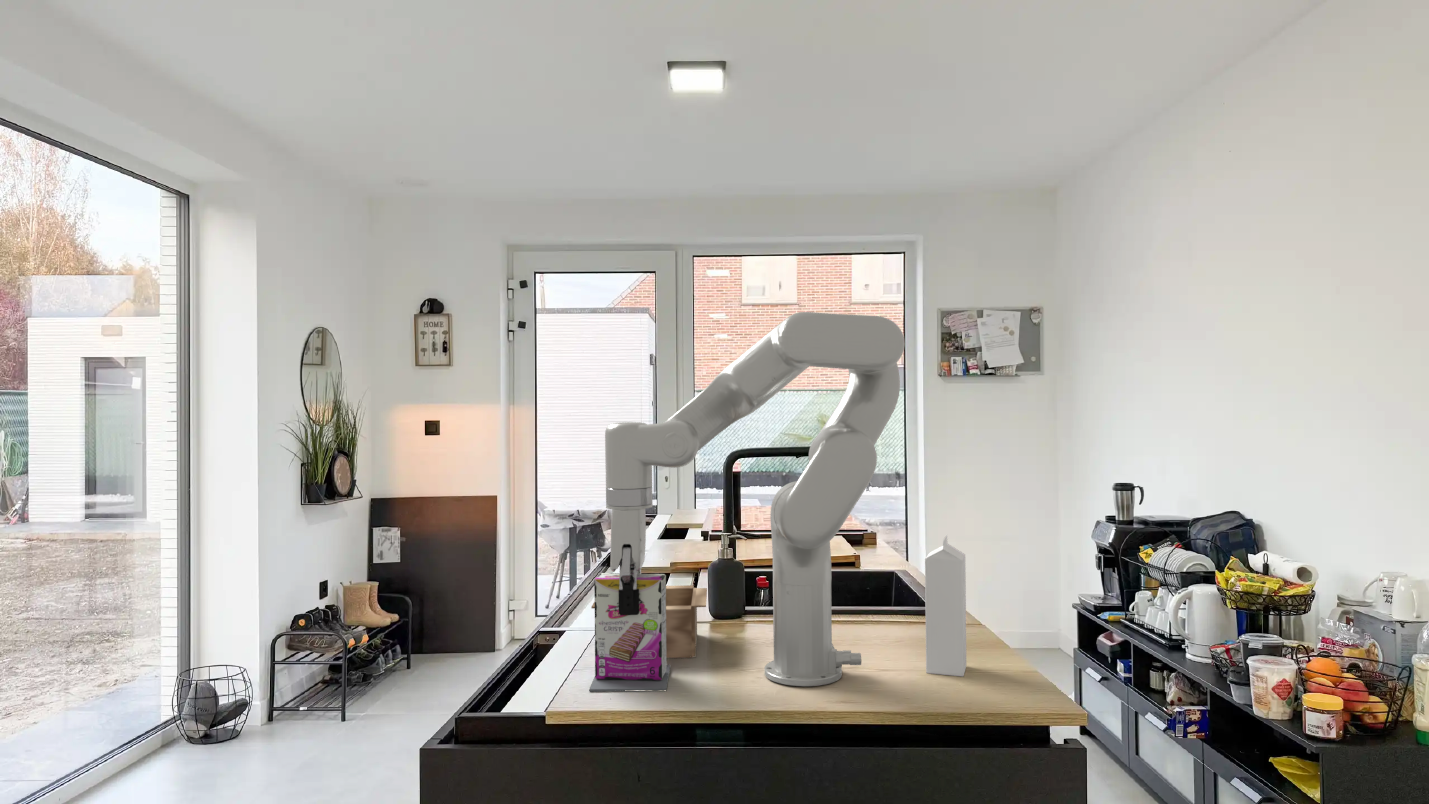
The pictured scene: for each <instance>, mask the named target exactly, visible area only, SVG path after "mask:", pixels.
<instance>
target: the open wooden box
mask: <svg viewBox="0 0 1429 804" xmlns="http://www.w3.org/2000/svg"><path fill="white" fill-rule="evenodd" d="M694 586H695V585H692V584H691V585H666V657H667V659H671V658H672V659H673V658H674V659H675V658H676V659H677V658H679V659H680V658H681V659H682V658H683V659H684V658H685V659H686V658H688V659H689V658H690V659H691V658H696V654H697V653H696V652H697V638H698V611H697V610H698V608H707V594H708V588H706V587H699V588H698V587H694ZM591 609H595V601H593V603H592V605H591Z"/></svg>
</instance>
